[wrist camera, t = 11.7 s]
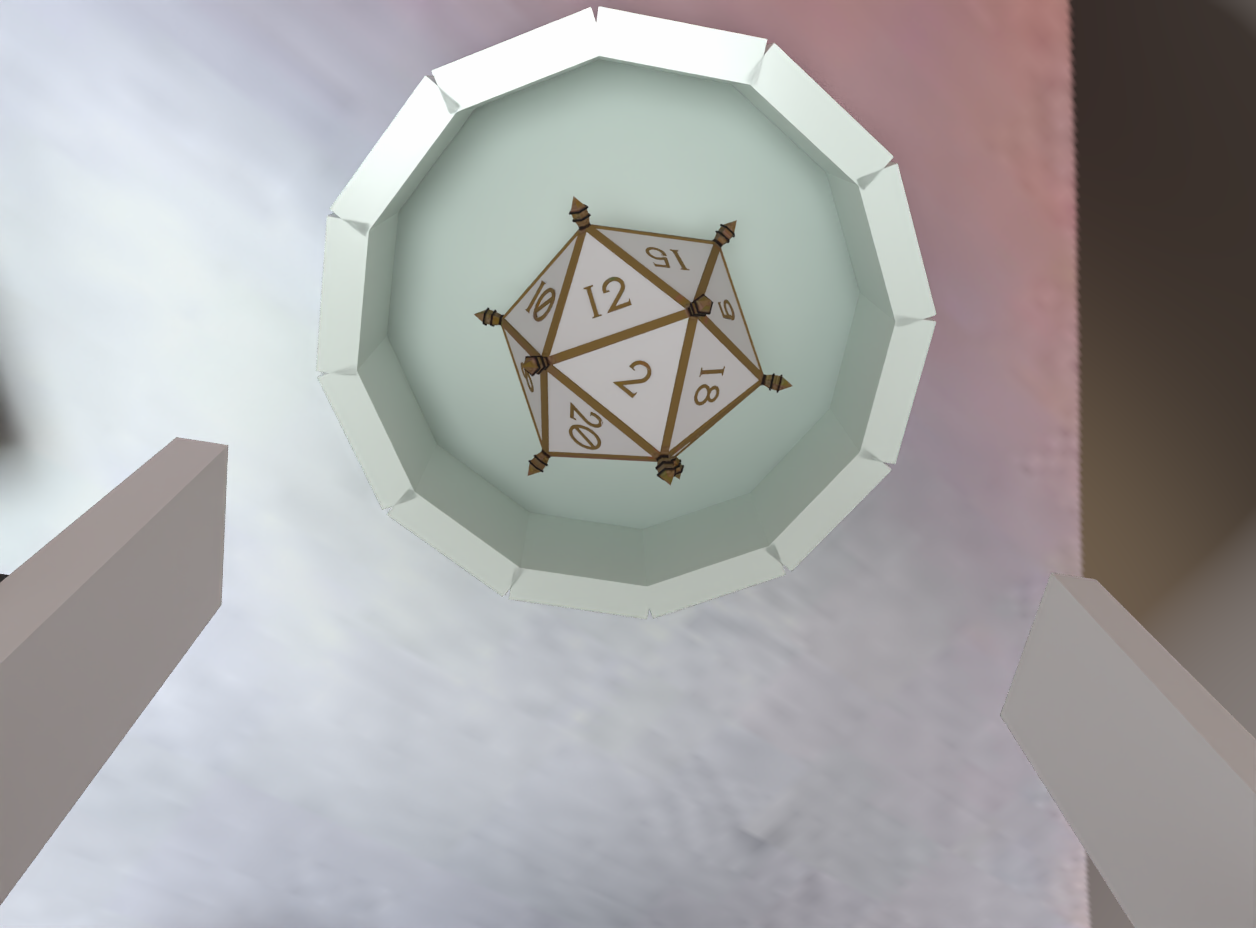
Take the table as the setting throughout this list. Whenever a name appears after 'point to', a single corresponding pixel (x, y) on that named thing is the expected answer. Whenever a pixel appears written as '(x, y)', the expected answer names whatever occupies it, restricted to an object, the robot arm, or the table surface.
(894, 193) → the bowl
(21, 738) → the robot arm
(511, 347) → the game die
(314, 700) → the table surface
